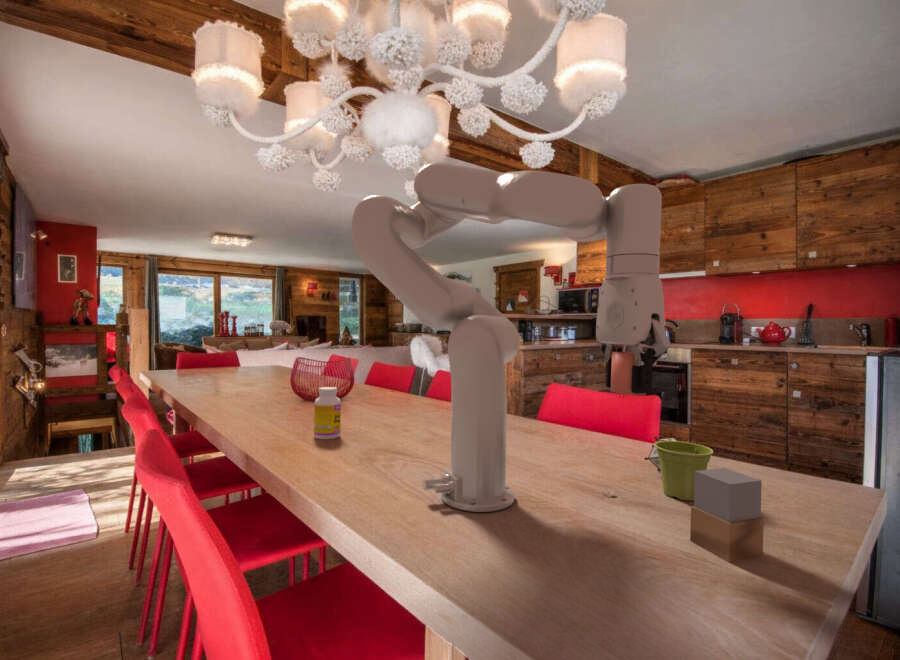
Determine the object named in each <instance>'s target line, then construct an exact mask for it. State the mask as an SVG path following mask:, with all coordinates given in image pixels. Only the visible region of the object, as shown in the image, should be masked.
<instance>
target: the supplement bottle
mask: <svg viewBox="0 0 900 660" xmlns="http://www.w3.org/2000/svg"><path fill="white" fill-rule="evenodd" d="M318 394H319V396H318V397H317V398H315V400H314V417H313V418H314V419H313V421H314V423H313V425H314V426H313V435H314V438H316V439H318V440H334V439H337V438H339V437H340V436H341V415H342V414H341V408H342V407H341V406H342V405H341V404H342V401H341V399H340V398H339V397H338V396H337V395H338V388H337V387H336V386H324V387H323V386H322V387H318Z"/></svg>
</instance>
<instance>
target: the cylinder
mask: <svg viewBox="0 0 900 660" xmlns="http://www.w3.org/2000/svg"><path fill="white" fill-rule="evenodd" d="M644 353H645V352H643V354H644ZM632 366H637V365H636V363H635V357H634V351H625V352H612V365H611V388H610V392H612V393H615V394H620V395H633V396H635V395H636V396H637V395H638V396H639V395H640V396H641V395H646V394H647V393H641V394H635V393H632V391H631V384H632Z"/></svg>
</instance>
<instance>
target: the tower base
mask: <svg viewBox="0 0 900 660" xmlns="http://www.w3.org/2000/svg"><path fill="white" fill-rule="evenodd" d="M764 519H765V518H763V517H761V518H757V519H751V520H744V521H738V522H732V523H728V522H726V521H724V520H722V519H720V518H718V517H716V516H714V515H711V514H709V513H707V512H705V511H703V510H701V509H699V508H697V507H694V505H692V506H690V530H689V531H690V534H689V535H690V536H689V538H690V539H689V540H690V542H691V543H693V544H695V545H696V546H698V547H700V548H702V549H704V550H705V551H707V552H710V553H711V554H712V555H714V556H717V557H718V558H719V559H722V560H723V561H726V562H727V563H733V562H738V561H743V560H748V559H752V558H757V557H762V556H764Z"/></svg>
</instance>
